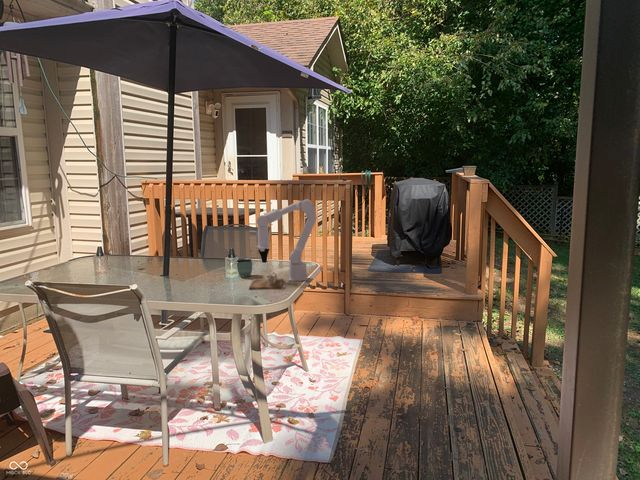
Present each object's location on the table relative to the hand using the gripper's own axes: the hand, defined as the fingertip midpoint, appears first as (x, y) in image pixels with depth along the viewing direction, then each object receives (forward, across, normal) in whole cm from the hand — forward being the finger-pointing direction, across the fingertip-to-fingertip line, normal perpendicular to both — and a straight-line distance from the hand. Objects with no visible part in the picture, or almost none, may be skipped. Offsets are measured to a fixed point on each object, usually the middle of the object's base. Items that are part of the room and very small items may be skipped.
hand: (264, 262), depth 270 cm
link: (+9, +9, +5) cm, 13 cm away
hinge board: (+10, +11, +2) cm, 15 cm away
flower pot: (+10, -12, -13) cm, 20 cm away
